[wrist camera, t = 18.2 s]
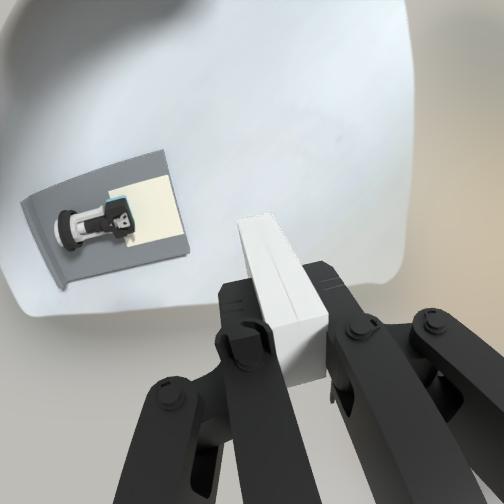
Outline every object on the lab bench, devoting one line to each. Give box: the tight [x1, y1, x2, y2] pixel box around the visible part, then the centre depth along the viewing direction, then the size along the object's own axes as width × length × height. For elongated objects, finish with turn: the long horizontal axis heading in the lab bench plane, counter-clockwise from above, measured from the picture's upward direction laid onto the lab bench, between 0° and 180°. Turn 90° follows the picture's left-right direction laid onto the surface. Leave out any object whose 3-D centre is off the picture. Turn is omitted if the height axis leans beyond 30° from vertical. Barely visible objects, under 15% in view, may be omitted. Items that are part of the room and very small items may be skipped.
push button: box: [54, 195, 135, 252], centre depth 32 cm, size 7×5×10 cm
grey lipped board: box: [21, 149, 190, 288], centre depth 34 cm, size 14×21×3 cm, turn 99°
